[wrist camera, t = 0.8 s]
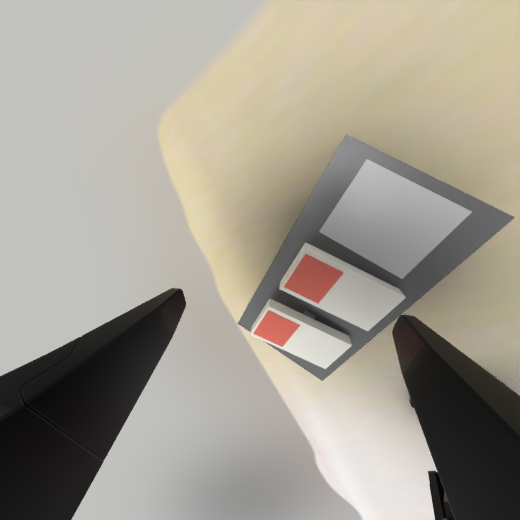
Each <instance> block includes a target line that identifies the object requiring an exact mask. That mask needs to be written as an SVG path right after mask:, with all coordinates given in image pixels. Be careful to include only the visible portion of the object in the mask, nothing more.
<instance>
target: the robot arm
mask: <svg viewBox="0 0 520 520" xmlns="http://www.w3.org/2000/svg"><path fill="white" fill-rule="evenodd" d="M185 306H186V301H185V297H184V294H183V291H182V289H178V288H171V289H169V290H168V291H166V292H164V293H162V294H160V295H158V296H156V297H154V298H153V299H151V300H149V301H147V302H145V303H143V304H141V305H139V306H137V307H135V308H134V309H132V310H130V311H128V312H126V313H124V314H122V315H120V316H119V317H117V318H115V319H113V320H111V321H109V322H107V323H105V324H103V325H101V326H100V327H98V328H96V329H94V330H92V331H90V332H89V333H86V334H85V335H83V336H82V337H79V338H77V339H75V340H74V341H71V342H69V343H67V344H66V345H64V346H62V347H60V348H58V349H56V350H54V351H52V352H50V353H48V354H46V355H44V356H42V357H40V358H38V359H36V360H33V361H31V362H30V363H27V364H25V365H23V366H21V367H19V368H17V369H15V370H13V371H10V372H8V373H6V374H4V375H2V376H0V520H71V519H72V517H73V516H74V514H75V512H76V510H77V508H78V507H79V505H80V503H81V501H82V499H83V498H84V496H85V494H86V492H87V490H88V489H89V487H90V485H91V483H92V481H93V480H94V478H95V476H96V474H97V472H98V471H99V469H100V467H101V465H102V463H103V460H104V459H105V458H106V456H107V454H108V452H109V450H110V449H111V447H112V445H113V443H114V441H115V440H116V438H117V436H118V434H119V432H120V431H121V429H122V427H123V425H124V423H125V422H126V420H127V418H128V416H129V414H130V413H131V411H132V409H133V407H134V405H135V404H136V402H137V400H138V398H139V396H140V395H141V393H142V391H143V389H144V387H145V386H146V384H147V382H148V380H149V378H150V377H151V375H152V373H153V371H154V369H155V367H156V366H157V364H158V362H159V360H160V359H161V357H162V355H163V353H164V351H165V350H166V348H167V346H168V344H169V342H170V340H171V339H172V337H173V334H174V332H175V330H176V328H177V325H178V323H179V321H180V318H181V316H182V314H183V311H184V309H185ZM392 334H393V339H394V343H395V347H396V351H397V355H398V359H399V363H400V367H401V371H402V374H403V377H404V380H405V383H406V386H407V389H408V392H409V394H410V397H411V399H410V404H411V406H412V407H413V408H415V411H416V414H417V416H418V419H419V422H420V425H421V427H422V430H423V433H424V436H425V438H426V441H427V444H428V447H429V449H430V452H431V455H432V458H433V460H434V463H435V466H436V469H437V471H438V472H436V471H428V474H429V480H430V490H431V496H432V502H433V508H434V515H435V520H520V396H519V395H518V394H517V393H515V392H514V391H513V390H511V389H510V388H509V387H507V386H506V385H505V384H503V383H502V382H501V381H499V380H498V379H497V378H495V377H494V376H493V375H491V374H490V373H489V372H487V371H486V370H485V369H483V368H482V367H481V366H479V365H478V364H477V363H475V362H474V361H473V360H471V359H470V358H469V357H467V356H466V355H465V354H464V353H462V352H461V351H460V350H458V349H457V348H456V347H454V346H453V345H452V344H450V343H449V342H448V341H446V340H445V339H444V338H442V337H441V336H440V335H438V334H437V333H436V332H434V331H433V330H432V329H430V328H429V327H428V326H426V325H425V324H424V323H422V322H421V321H420V320H418V319H417V318H416V317H414V316H409V315H401V316H399V318H398V320H397V322H396V324H395V326H394V328H393V331H392Z"/></svg>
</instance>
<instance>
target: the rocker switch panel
mask: <svg viewBox="0 0 520 520" xmlns="http://www.w3.org/2000/svg"><path fill="white" fill-rule="evenodd" d="M514 218H515V217H513V216H511V215H509V214H507V213H505V212H503V211H501V210H499V209H497V208H495V207H493V206H491V205H489V204H487V203H484V202H482V201H480V200H478V199H476V198H474V197H472V196H470V195H468V194H466V193H464V192H462V191H460V190H458V189H456V188H454V187H452V186H450V185H448V184H446V183H444V182H442V181H440V180H438V179H436V178H434V177H432V176H430V175H428V174H426V173H423V172H421V171H419V170H417V169H415V168H413V167H411V166H409V165H407V164H405V163H403V162H401V161H399V160H397V159H395V158H393V157H391V156H389V155H387V154H385V153H383V152H381V151H379V150H377V149H375V148H373V147H371V146H369V145H367V144H364V143H362V142H360V141H358V140H356V139H354V138H352V137H350V136H348V135H345V137H344V139H343V140H342V142H341V144H340V146H339V147H338V149H337V151H336V153H335V154H334V156H333V158H332V160H331V161H330V163H329V165H328V167H327V168H326V170H325V172H324V174H323V175H322V177H321V179H320V181H319V182H318V184H317V186H316V188H315V189H314V191H313V193H312V195H311V196H310V198H309V200H308V202H307V203H306V205H305V207H304V209H303V210H302V212H301V214H300V215H299V217H298V219H297V221H296V222H295V224H294V226H293V228H292V229H291V231H290V233H289V235H288V236H287V238H286V240H285V242H284V243H283V245H282V247H281V249H280V250H279V252H278V254H277V256H276V257H275V259H274V261H273V263H272V264H271V266H270V268H269V270H268V271H267V273H266V275H265V277H264V278H263V280H262V282H261V284H260V285H259V287H258V289H257V291H256V292H255V294H254V296H253V298H252V299H251V301H250V303H249V305H248V306H247V308H246V310H245V312H244V313H243V315H242V317H241V319H240V320H239V322H238V324H239V325H241V326H242V327H244V328H245V329H247V330H248V331H250V332H251V328H252V325H253V324H254V322H255V321H256V319H257V318H258V316H259V314H260V313H261V311H262V310H263V308H264V307H265V305H266V303H267V302H268V300H269V299H272V300H274V301H276V302H278V303H281V304H283V305H285V306H287V307H289V308H291V309H293V310H295V311H297V312H299V313H302V314H304V315H306V316H308V317H310V318H312V319H314V320H316V321H318V322H321V323H323V324H325V325H327V326H329V327H331V328H333V329H335V330H337V331H339V332H342V333H344V334H346V335H348V336H349V337H350V340H351V344H352V346H351V347H350V348H349V349H348V350H346V351H345V352H344V353H343V354H342V355H341V356H340V357H339V358H337V359H336V360H335V361H334V362H333V363H332V364H331V365H330V366H328V367H327V368H326V369H324V368H322V367H319V366H317V365H315V364H313V363H311V362H309V361H306V360H304V359H302V358H300V357H298V356H296V355H293V354H291V353H289V352H287V351H285V350H282V349H280V348H278V347H276V346H274V345H272V344H269V343H267V342H266V343H267V344H269V345H270V346H272V347H273V348H275V349H276V350H278V351H279V352H281V353H282V354H283V355H285V356H286V357H288V358H289V359H291V360H292V361H294V362H295V363H297V364H298V365H300V366H301V367H303V368H304V369H306V370H307V371H309V372H310V373H312V374H313V375H315V376H316V377H317V378H319V379H320V380H322V381H323V380H324V379H325V378H326V377H327V376H329V375H330V374H331V373H332V372H333V371H335V370H336V369H337V368H338V367H339V366H340V365H342V364H343V363H344V362H345V361H346V360H348V359H349V358H350V357H351V356H352V355H353V354H355V353H356V352H357V351H358V350H359V349H360V348H362V347H363V346H364V345H365V344H366V343H368V342H369V341H370V340H371V339H372V338H373V337H375V336H376V335H377V334H378V333H379V332H380V331H382V330H383V329H384V328H385V327H386V326H388V325H389V324H390V323H391V322H392V321H393V320H395V319H396V318H397V317H398V316H399V315H401V314H402V313H403V312H404V311H405V310H406V309H408V308H409V307H410V306H411V305H412V304H413V303H415V302H416V301H417V300H418V299H419V298H421V297H422V296H423V295H424V294H425V293H426V292H428V291H429V290H430V289H431V288H432V287H434V286H435V285H436V284H437V283H438V282H439V281H441V280H442V279H443V278H444V277H445V276H446V275H448V274H449V273H450V272H451V271H452V270H454V269H455V268H456V267H457V266H458V265H459V264H461V263H462V262H463V261H464V260H465V259H467V258H468V257H469V256H470V255H471V254H472V253H474V252H475V251H476V250H477V249H478V248H479V247H481V246H482V245H483V244H484V243H485V242H487V241H488V240H489V239H490V238H491V237H492V236H494V235H495V234H496V233H497V232H498V231H500V230H501V229H502V228H503V227H504V226H505V225H507V224H508V223H509V222H510V221H511V220H512V219H514ZM305 242H306V243H308V244H310V245H312V246H314V247H316V248H318V249H320V250H322V251H324V252H326V253H328V254H330V255H332V256H334V257H336V258H338V259H340V260H342V261H344V262H346V263H348V264H350V265H352V266H354V267H356V268H358V269H360V270H362V271H364V272H366V273H368V274H370V275H372V276H374V277H376V278H378V279H380V280H382V281H384V282H386V283H388V284H390V285H392V286H394V287H396V288H398V289H400V290H401V292H402V293H403V294H404V295H405V297H406V298H405V299H404V300H403V301H402V302H401V303H399V304H398V305H397V306H396V307H395V308H394V309H393V310H391V311H390V312H389V313H388V314H387V315H386V316H385V317H384V318H382V319H381V320H380V321H379V322H378V323H377V324H376V325H375V326H373V327H372V328H371V329H370V330H369V331H366V330H364V329H362V328H360V327H358V326H355V325H353V324H351V323H349V322H347V321H345V320H343V319H341V318H339V317H337V316H335V315H333V314H330V313H328V312H326V311H324V310H322V309H320V308H318V307H316V306H314V305H312V304H310V303H308V302H305V301H303V300H301V299H299V298H297V297H295V296H293V295H291V294H289V293H287V292H285V291H282V290H280V289H279V287H280V281H281V280H282V278H283V277H284V275H285V274H286V272H287V270H288V269H289V267H290V266H291V264H292V263H293V261H294V259H295V258H296V256H297V255H298V253H299V252H300V250H301V248H302V247H303V245H304V244H305ZM264 342H265V341H264Z"/></svg>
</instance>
